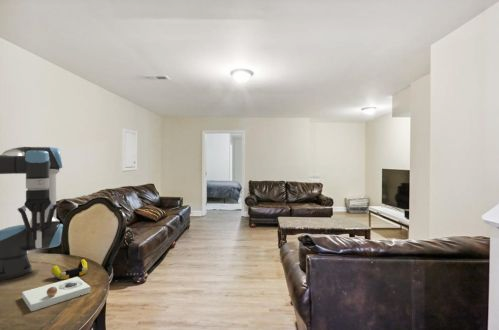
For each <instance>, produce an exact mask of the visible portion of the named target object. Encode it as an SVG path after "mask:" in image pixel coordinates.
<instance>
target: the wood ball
mask: <svg viewBox="0 0 499 330" xmlns="http://www.w3.org/2000/svg"><path fill="white" fill-rule="evenodd" d="M56 293H57V288H56V287H50V288H49V289H48V290H47V295H48V296H54V295H55V294H56Z"/></svg>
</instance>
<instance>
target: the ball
mask: <svg viewBox="0 0 499 330" xmlns="http://www.w3.org/2000/svg"><path fill="white" fill-rule="evenodd" d="M73 286H74V284H73V283H68V284H66V285H65V287H66V288H68V287H73Z"/></svg>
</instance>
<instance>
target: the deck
mask: <svg viewBox="0 0 499 330" xmlns="http://www.w3.org/2000/svg"><path fill="white" fill-rule="evenodd" d="M68 283H73V284H74V286H73V287H68V288H66V287H65V285H66V284H68ZM50 287H56V288H57V293H56V294H55V295H54V296H48V295H47V290H48V289H49V288H50ZM91 290H92V289H91V286H90V285H89V284H88V283H87V282H85V281H84V280H82V279H81V278H80V276H77V277H73V278H69V279H63V280H60V281H57V282H53V283H50V284H45V285H41V286H39V287H36V288H32V289H27V290H24V291H21V292H22V293H21V297H22V298H21V299H22V300H23V301H24V303H25V304H26V306H27V307H28V309H29V311H30V312H34V311H38V310H40V309H43V308H47V307H50V306H52V305H56V304H60V303H62V302H66V301H68V300H72V299H74V298H78V297H81V296H84V295H87V294H90V293H91ZM80 295H81V296H80Z"/></svg>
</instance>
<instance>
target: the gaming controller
mask: <svg viewBox="0 0 499 330" xmlns="http://www.w3.org/2000/svg"><path fill="white" fill-rule="evenodd" d="M87 272H88V262H87V261H86V260H85V259H80V261H79V263H78V266H77V267H74V268H70V269H67V270H65V271H64V270H61V268H60V267H59V266H58V265H54V266H52V268H51V274H52V275H53V277H55V278H56V279H58V280H60V281H64V280H67V279H71V278H74V277H80V276H83V275H85V274H86V273H87Z"/></svg>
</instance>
